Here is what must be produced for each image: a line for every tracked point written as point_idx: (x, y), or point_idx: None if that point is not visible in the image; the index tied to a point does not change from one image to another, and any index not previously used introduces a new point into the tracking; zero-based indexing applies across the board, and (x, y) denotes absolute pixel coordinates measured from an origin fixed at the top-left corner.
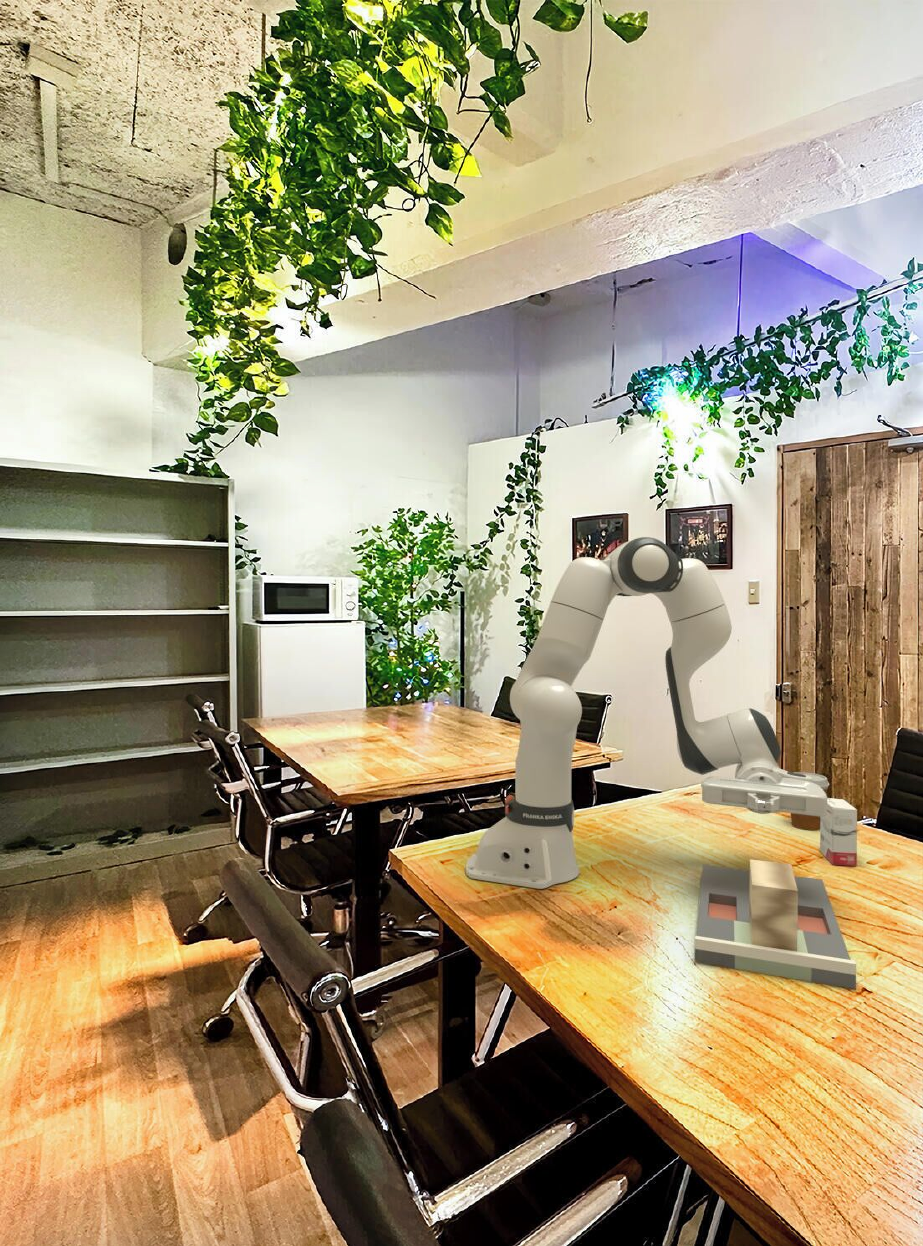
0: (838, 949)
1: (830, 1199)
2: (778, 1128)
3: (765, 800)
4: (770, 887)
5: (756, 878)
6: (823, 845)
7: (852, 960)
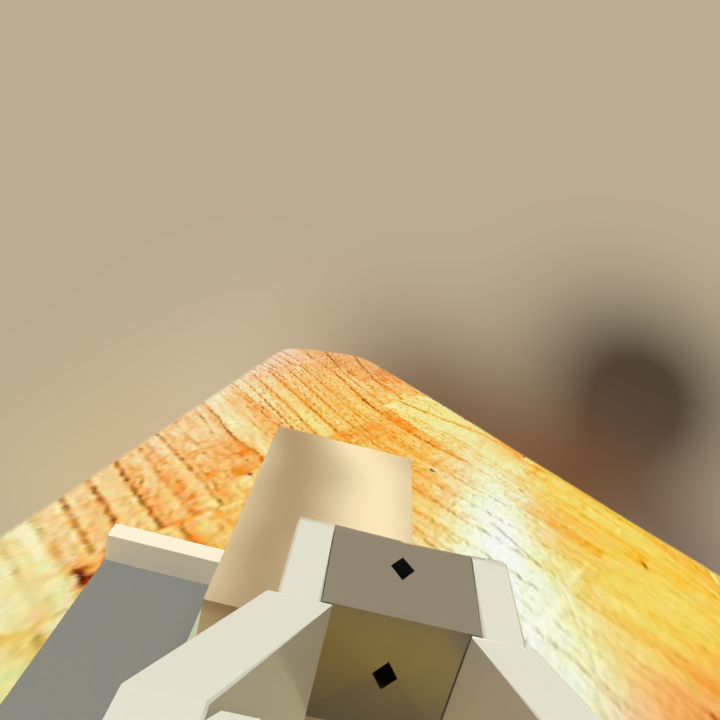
0: (63, 662)
1: (335, 363)
2: (363, 398)
3: (387, 577)
4: (357, 446)
5: (395, 490)
6: None
7: (113, 536)
